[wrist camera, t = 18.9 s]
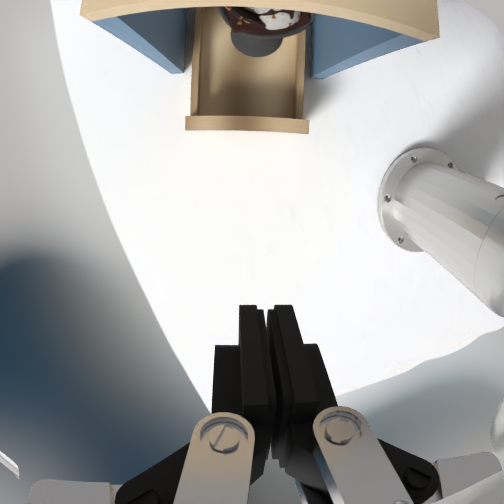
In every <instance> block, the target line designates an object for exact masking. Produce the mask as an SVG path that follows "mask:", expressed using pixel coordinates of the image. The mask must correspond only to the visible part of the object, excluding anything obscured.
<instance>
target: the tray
mask: <svg viewBox="0 0 504 504" xmlns="http://www.w3.org/2000/svg"><path fill="white" fill-rule="evenodd" d="M230 32H231V28H230V27H229V26H228V25H227V24H226V23H225V21H224V20H223V18H222V17H221V15H220V13H219V11H218V9H217V6H210V7H196V13H195V26H194V41H193V59H192V80H191V112H190V116H186V121H185V130H244V131H270V132H287V133H301V134H309V120H303V119H302V115H303V95H304V71H305V38H306V29H305V30H303V31H302V32H300V33H298V34H295V35H292V36H289V37H285V38H283V40H282V43H281V46H280V47H279V48H278V49H277V50H276V51H275V52H274V53H272V54H270V55H268V56H265V57H251V56H247V55H244V54H243V53H241V52H240V51H238V50H237V49H236V48H235V46H234V45H233V43H232V41H231V33H230Z"/></svg>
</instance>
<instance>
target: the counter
mask: <svg viewBox="0 0 504 504" xmlns="http://www.w3.org/2000/svg"><path fill="white" fill-rule="evenodd" d="M210 6H239V7H262V8H275V9H286V10H295V11H303V12H310V13H316V15H315V18H314V20H313V21H312V44H311V76H310V78H318V79H323V78H326V77H328V76H330V75H333V74H335V73H338V72H340V71H343V70H345V69H347V68H350V67H353V66H355V65H358V64H360V63H363V62H366V61H368V60H371V59H374V58H376V57H379V56H382V55H385V54H388V53H391V52H394V51H397V50H400V49H403V48H406V47H409V46H412V45H415V44H419V43H422V42H426V41H429V40H433V39H436V38H440V36H439V21H438V10H437V0H82V4H81V10H80V15H81V16H82V17H84V18H86V19H88V20H89V21H91V22H93V23H94V24H96V25H98V26H100V27H101V28H103V29H104V30H106V31H108V32H109V33H111V34H113V35H114V36H116V37H117V38H119V39H121V40H122V41H124V42H125V43H127V44H128V45H130V46H131V47H133V48H135V49H136V50H138V51H139V52H141V53H142V54H144V55H145V56H147V57H148V58H150V59H151V60H152V61H154V62H155V63H157V64H158V65H160V66H161V67H163V68H164V69H165V70H167V71H168V72H170V73H171V74H176V73H184V54H185V38H186V24H187V12H188V7H210Z"/></svg>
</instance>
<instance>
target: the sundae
mask: <svg viewBox="0 0 504 504" xmlns="http://www.w3.org/2000/svg"><path fill="white" fill-rule="evenodd" d="M217 9H218V11H219V13H220V15H221V17H222V18H223V20H224V21H225V23H226V24H227V25H228V26H229V27H230V28H231V32H230V33H231V41H232V43H233V45H234V46H235V48H236V49H237V50H238V51H240V52H241V53H243V54H244V55H247V56H251V57H265V56H268V55H270V54H272V53H274V52H275V51H276V50H277V49H278V48H279V47H280V46H281V43H282V40H283V38H285V37H289V36H292V35H295V34H298V33H300V32H302V31H303V30H305V29H306V28H307V27H308V26H309V25H310V24H311V23H312V21H313V20H314V18H315V15H316V13H310V12H303V11H295V10H286V9H275V8H262V7H239V6H217Z"/></svg>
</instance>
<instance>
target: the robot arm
mask: <svg viewBox="0 0 504 504" xmlns="http://www.w3.org/2000/svg"><path fill="white" fill-rule="evenodd" d="M411 157H412V159H411ZM385 196H386V198H385ZM378 215H379V220H380V223H381V226H382V228H383V230H384V232H385V233H386V235H387V236H388V237H389V239H390V240H391V241H392V242H393V243H395V244H396V245H397V246H398V247H400V248H402V249H404V250H407V251H411V252H423V251H425V252H426V253H427V254H429V255H430V256H431V257H432V258H433V259H435V260H436V261H437V262H438V263H439V264H440V265H442V266H443V267H444V268H445V269H446V270H447V271H449V272H450V273H451V274H452V275H453V276H454V277H455V278H456V279H458V280H459V281H460V282H461V283H462V284H463V285H464V286H465V287H466V288H467V289H469V290H470V291H471V292H472V293H473V294H474V295H475V296H476V297H477V298H478V299H479V300H480V301H481V302H483V303H484V304H485V305H486V306H487V307H488V308H489V309H490V310H491V311H493V312H494V313H495V314H497V315H499V316H501V317H504V188H502V187H500V186H497V185H495V184H492V183H490V182H487V181H485V180H482V179H480V178H477V177H474V176H471V175H469V174H466V173H463V172H460V171H459V169H458V167H457V166H456V164H455V162H454V161H453V160H452V159H451V158H450V157H449V156H447V155H446V154H444V153H443V152H441V151H438V150H435V149H431V148H416V149H413V150H410V151H408V152H406V153H404V154H402V155H401V156H400V157H399V158H398V159H396V160H395V161H394V162H393V164H392V165H391V166H390V167H389V169H388V170H387V172H386V174H385V176H384V178H383V180H382V183H381V186H380V189H379V195H378ZM270 443H271V452H272V458H273V459H279V464H280V468H283V467H285V472H286V473H287V474H289V475H290V476H292V477H293V478H294V479H295V485H296V487H297V490H298V493H299V496H300V499H301V502H302V504H504V470H502V468H503V469H504V399H503V400H502V402H501V403H500V405H499V407H498V409H497V411H496V414H495V416H494V418H493V422H492V425H491V431H490V443H491V448H492V451H493V454H491V453H489V452H482V453H477V454H471V455H466V456H460V457H453V458H446V459H439V460H436V461H435V462H434V463H430V462H428V461H426V460H424V459H422V458H420V457H417V456H415V455H413V454H410V453H408V452H406V451H404V450H401V449H399V448H397V447H395V446H393V445H391V444H388V443H386V442H384V441H382V440H380V439H378V438H376V436H375V434H374V432H373V431H372V429H371V427H370V425H369V424H368V422H367V420H366V419H365V418H364V417H363V415H362V414H360V413H359V412H357V411H356V410H354V409H351V408H349V407H342V406H338V405H337V402H336V399H335V395H334V392H333V389H332V386H331V383H330V380H329V377H328V374H327V371H326V368H325V365H324V362H323V359H322V356H321V353H320V350H319V347H318V345H317V344H316V343H315V344H303V340H302V337H301V334H300V330H299V327H298V323H297V320H296V316H295V313H294V309H293V306H292V305H275V306H274V309H268V313H267V326H266V324H265V318H264V311H263V309H257V305H239V345H215V356H214V374H213V393H212V414H210V415H208V416H206V417H204V418H203V419H201V420H200V421H199V423H197V425H196V427H195V429H194V431H193V435H192V438H191V442H189V443H188V444H187V445H185V446H184V447H182V448H181V449H179V450H178V451H176V452H175V453H173V454H172V455H170V456H168V457H167V458H165V459H164V460H162V461H161V462H159V463H157V464H156V465H155V466H153V467H151V468H149V469H148V470H146V471H144V472H143V473H141V474H139V475H138V476H136V477H134V478H132V479H131V480H129V481H127V482H126V483H125V484H123V485H111V484H110V483H102V482H77V481H76V482H75V481H63V480H53V479H52V480H51V479H43V480H39V481H37V482H35V483H34V485H33V486H32V487H31V489H30V492H29V500H28V502H29V503H28V504H248V500H249V491H250V485H251V484H252V483H254V482H255V481H256V480H257V479H258V478H259V477H260V476H261V475H263V471H264V466H265V460H267V459H268V454H269V449H270Z"/></svg>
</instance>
